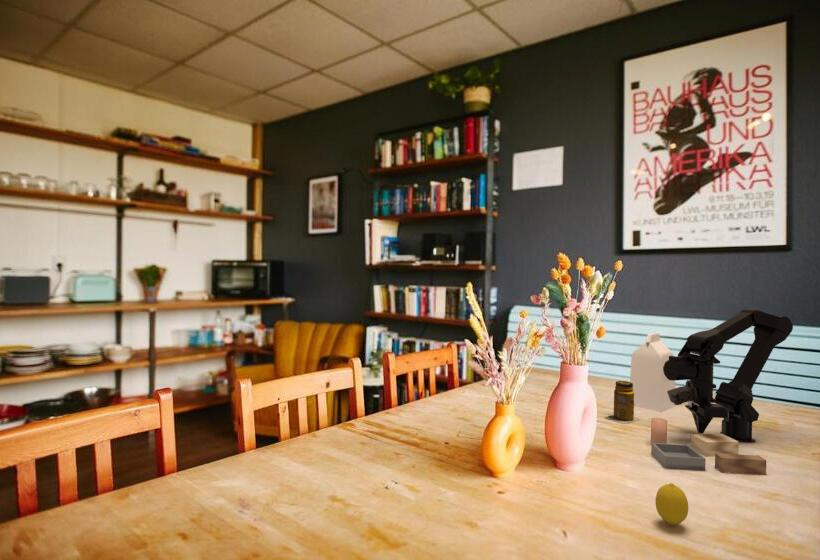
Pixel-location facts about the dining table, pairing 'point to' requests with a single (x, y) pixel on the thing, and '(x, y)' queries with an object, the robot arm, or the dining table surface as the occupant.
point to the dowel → (658, 430)
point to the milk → (651, 375)
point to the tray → (678, 456)
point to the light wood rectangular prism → (714, 444)
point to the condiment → (623, 403)
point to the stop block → (740, 463)
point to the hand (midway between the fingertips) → (700, 433)
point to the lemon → (671, 504)
